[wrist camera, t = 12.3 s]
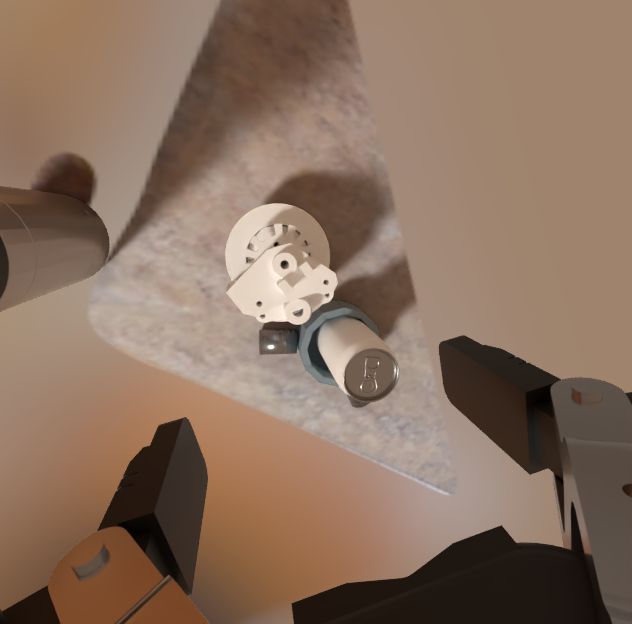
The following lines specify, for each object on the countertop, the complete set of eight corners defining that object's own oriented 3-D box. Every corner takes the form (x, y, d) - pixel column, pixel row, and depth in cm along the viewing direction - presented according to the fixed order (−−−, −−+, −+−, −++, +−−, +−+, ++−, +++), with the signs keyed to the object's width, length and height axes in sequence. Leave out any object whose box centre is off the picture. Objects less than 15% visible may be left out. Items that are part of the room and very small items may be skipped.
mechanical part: (306, 193, 41) (328, 184, 30) (332, 290, 45) (361, 314, 34) (211, 221, 40) (197, 222, 29) (246, 318, 44) (246, 353, 32)
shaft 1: (294, 326, 45) (297, 333, 42) (293, 348, 46) (297, 357, 43) (259, 326, 44) (260, 334, 41) (259, 349, 45) (260, 358, 42)
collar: (305, 379, 47) (312, 395, 43) (288, 311, 44) (292, 321, 40) (374, 359, 48) (386, 372, 44) (361, 291, 45) (373, 299, 41)
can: (311, 358, 45) (333, 405, 34) (319, 309, 44) (345, 341, 33) (359, 362, 47) (395, 408, 35) (368, 314, 45) (410, 347, 34)
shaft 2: (337, 373, 48) (342, 383, 45) (356, 363, 48) (364, 372, 45) (348, 399, 49) (354, 410, 46) (368, 390, 49) (375, 400, 46)
